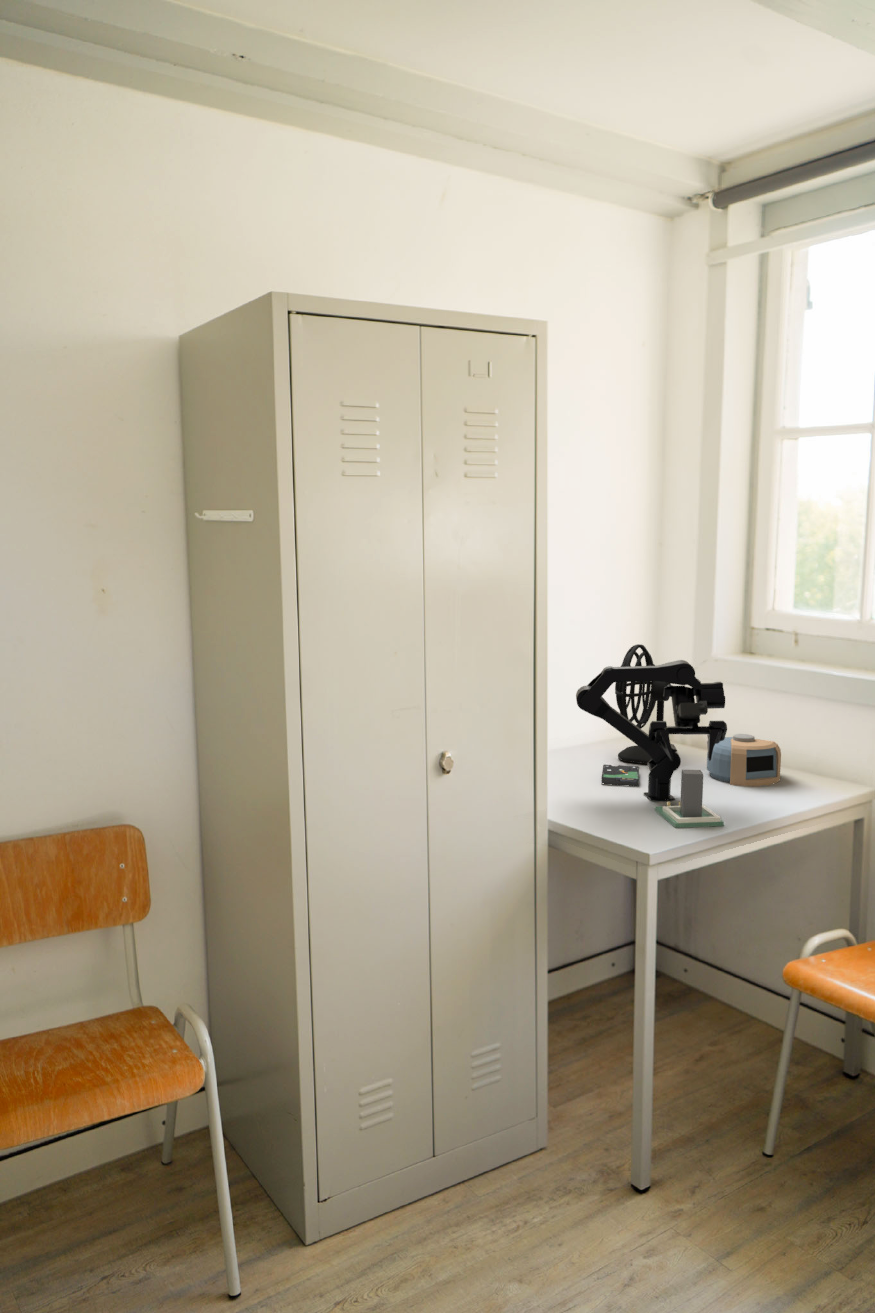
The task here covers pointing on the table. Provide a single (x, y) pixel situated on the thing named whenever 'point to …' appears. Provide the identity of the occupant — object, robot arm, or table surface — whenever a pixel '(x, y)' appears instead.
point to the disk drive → (620, 775)
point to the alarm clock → (745, 761)
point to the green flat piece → (677, 821)
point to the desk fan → (655, 694)
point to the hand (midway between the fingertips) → (691, 759)
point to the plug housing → (691, 793)
